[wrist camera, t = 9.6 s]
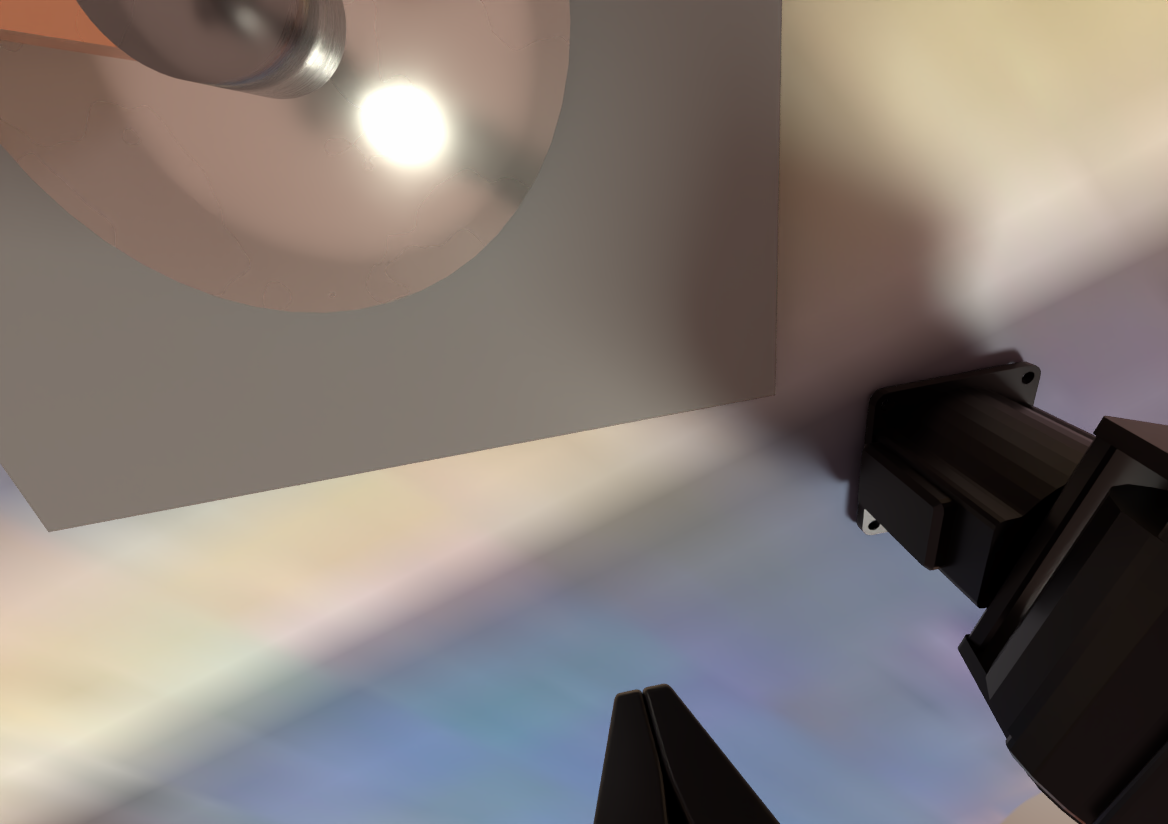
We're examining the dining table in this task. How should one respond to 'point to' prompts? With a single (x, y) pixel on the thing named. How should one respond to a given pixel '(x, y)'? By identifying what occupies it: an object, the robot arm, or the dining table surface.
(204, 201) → the dial
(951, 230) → the dining table surface
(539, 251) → the panel
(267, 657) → the dining table surface
